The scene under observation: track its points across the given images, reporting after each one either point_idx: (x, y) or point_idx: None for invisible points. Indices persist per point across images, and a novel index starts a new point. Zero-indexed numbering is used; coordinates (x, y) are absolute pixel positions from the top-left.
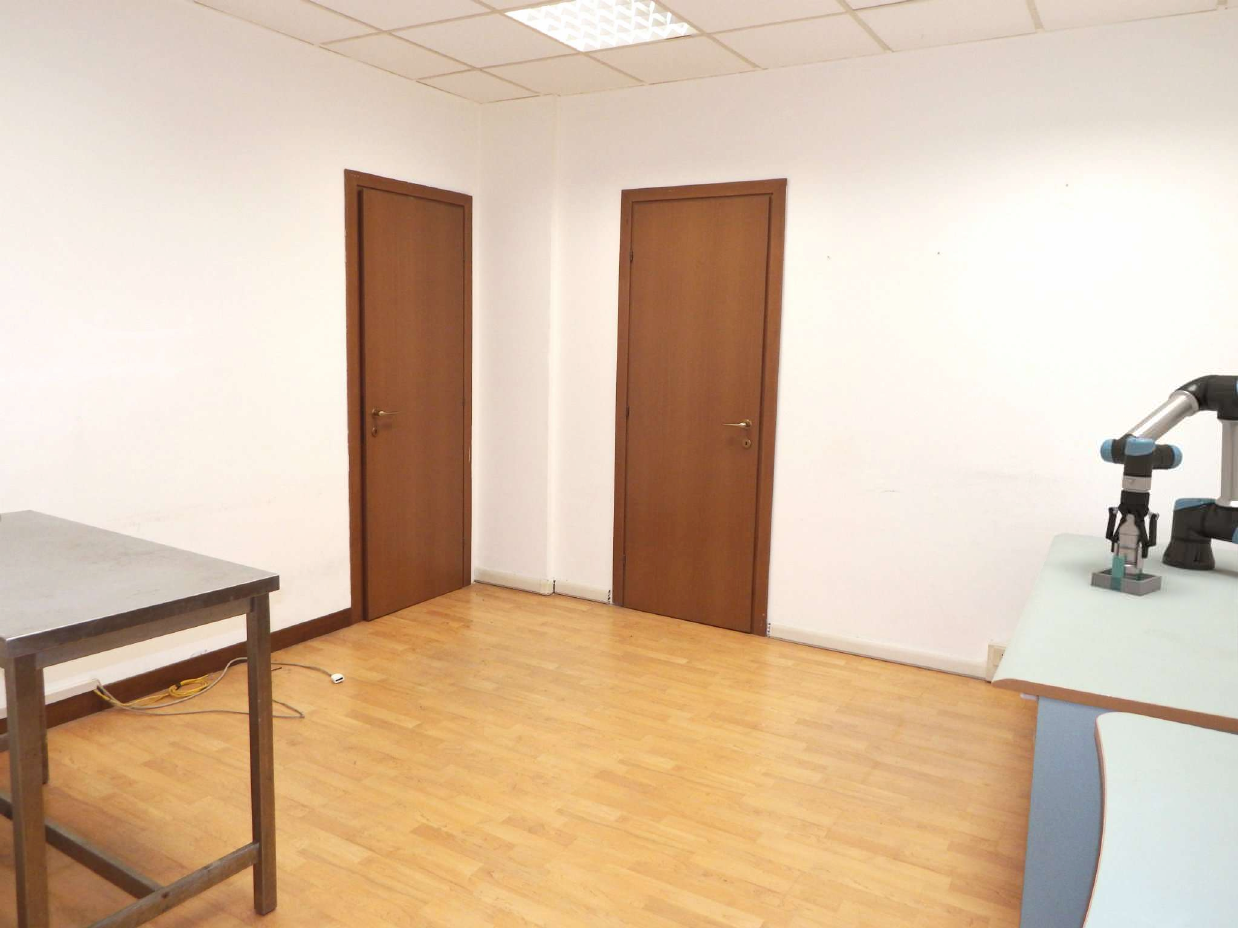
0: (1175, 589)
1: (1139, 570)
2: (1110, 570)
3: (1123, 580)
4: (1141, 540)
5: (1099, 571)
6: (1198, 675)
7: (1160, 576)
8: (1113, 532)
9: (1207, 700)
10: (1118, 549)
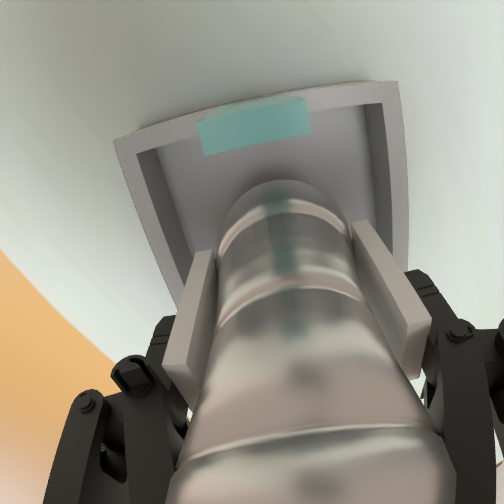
0: (394, 15)
1: (348, 227)
2: (156, 205)
3: None
4: None
5: None
6: (498, 446)
7: (396, 92)
8: (94, 447)
9: (498, 458)
10: (209, 349)
